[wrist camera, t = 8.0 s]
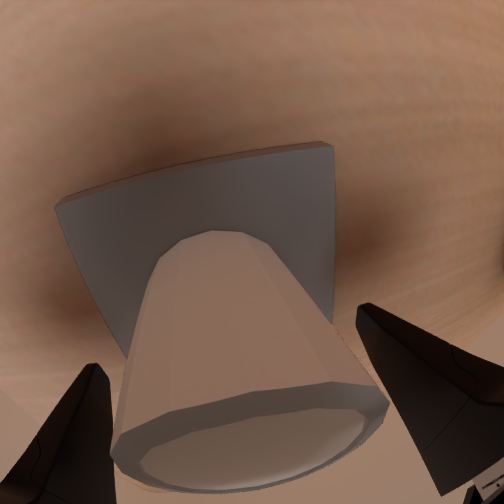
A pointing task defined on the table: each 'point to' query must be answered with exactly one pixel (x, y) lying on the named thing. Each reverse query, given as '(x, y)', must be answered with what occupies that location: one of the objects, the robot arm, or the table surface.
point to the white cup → (236, 375)
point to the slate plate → (204, 222)
